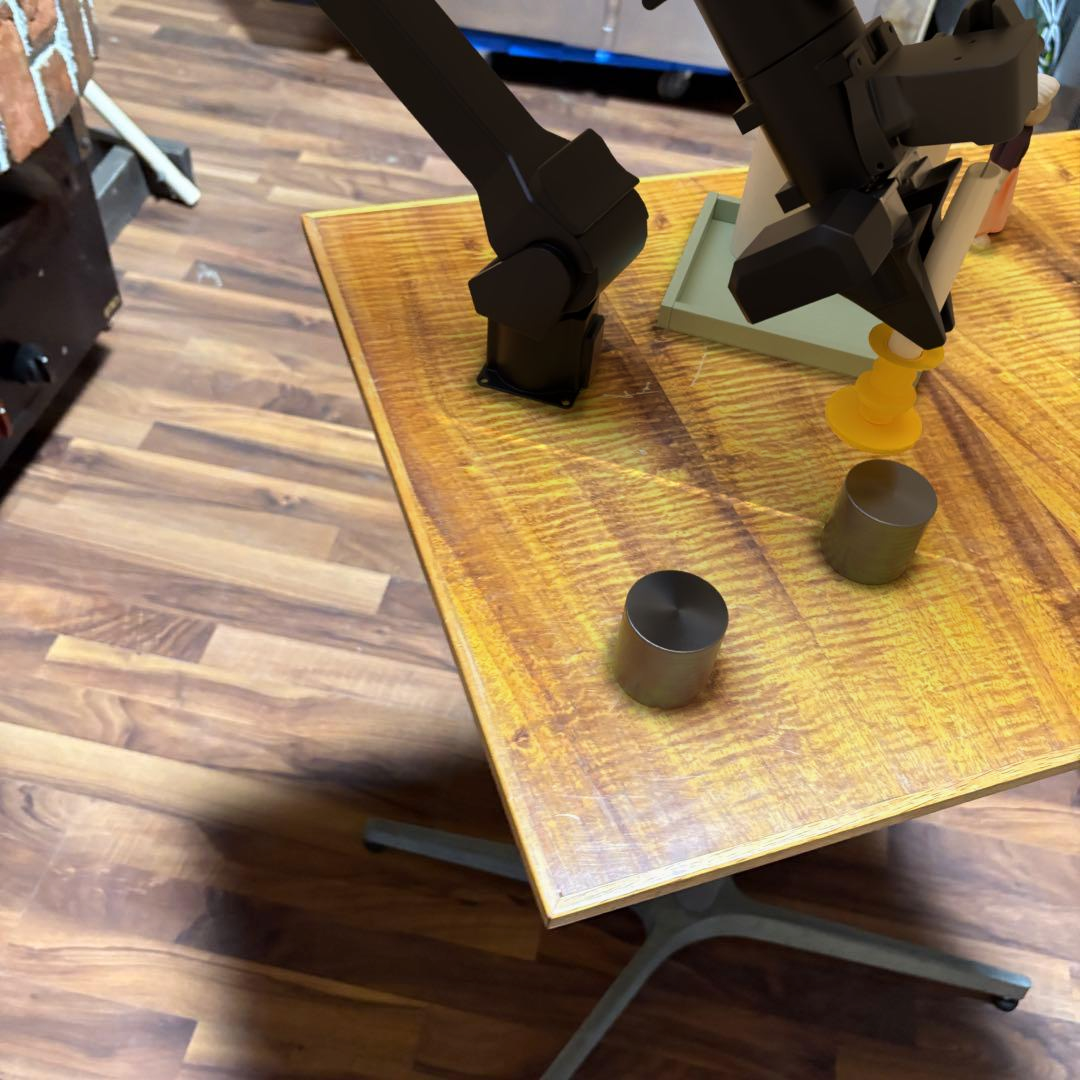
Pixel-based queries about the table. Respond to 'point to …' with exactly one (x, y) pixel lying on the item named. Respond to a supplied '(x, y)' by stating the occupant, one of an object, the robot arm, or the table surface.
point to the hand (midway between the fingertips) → (940, 339)
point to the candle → (886, 391)
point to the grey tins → (701, 613)
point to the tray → (799, 335)
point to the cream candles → (768, 180)
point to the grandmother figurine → (1013, 162)
